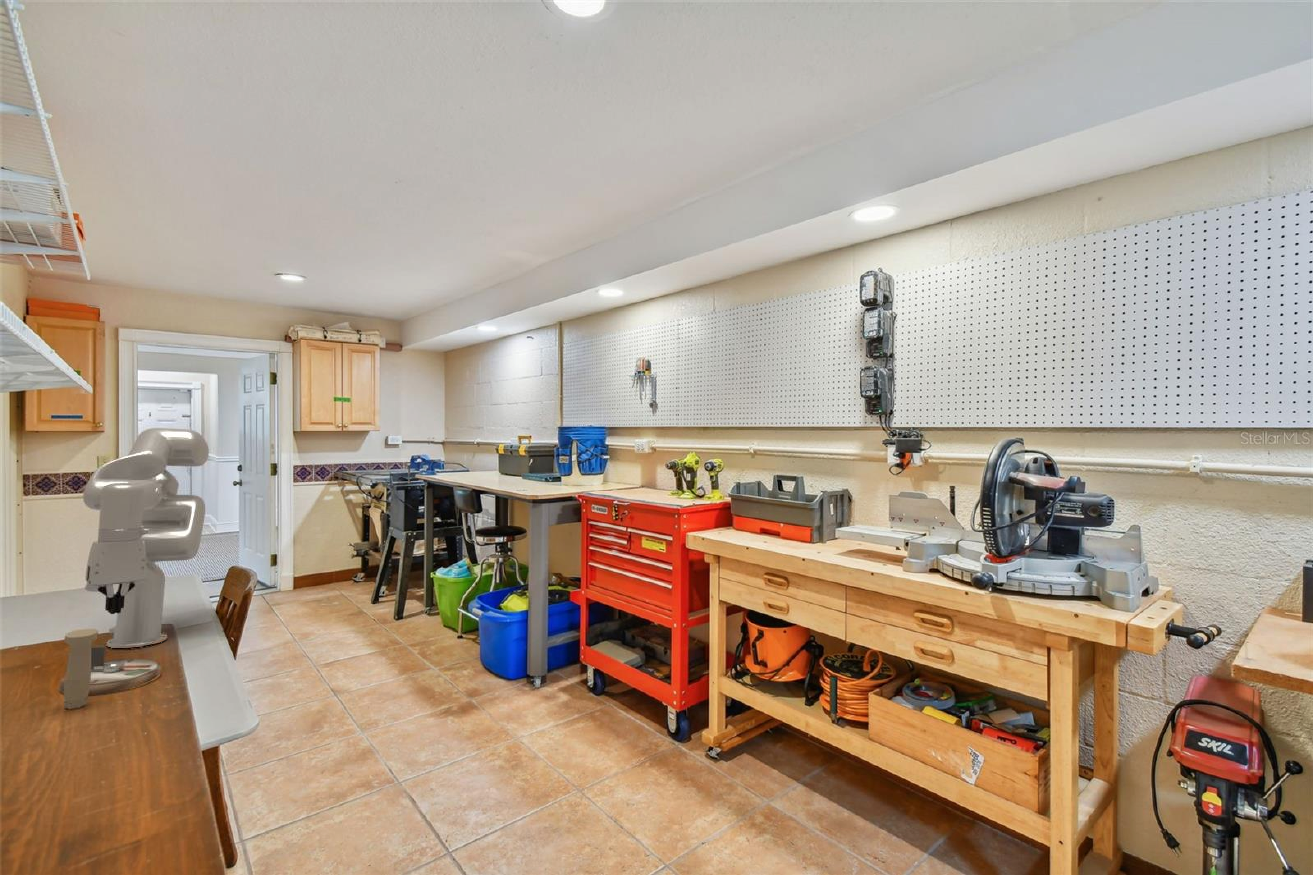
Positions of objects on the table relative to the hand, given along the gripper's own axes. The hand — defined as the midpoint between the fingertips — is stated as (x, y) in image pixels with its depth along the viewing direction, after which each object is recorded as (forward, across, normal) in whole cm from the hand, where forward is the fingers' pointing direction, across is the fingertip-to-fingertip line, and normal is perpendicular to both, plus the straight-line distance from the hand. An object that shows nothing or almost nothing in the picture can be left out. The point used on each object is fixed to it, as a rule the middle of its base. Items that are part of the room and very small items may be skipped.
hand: (114, 612), depth 139 cm
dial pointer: (+12, +1, +7) cm, 13 cm away
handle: (+14, +10, +18) cm, 25 cm away
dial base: (+14, +1, +7) cm, 16 cm away
